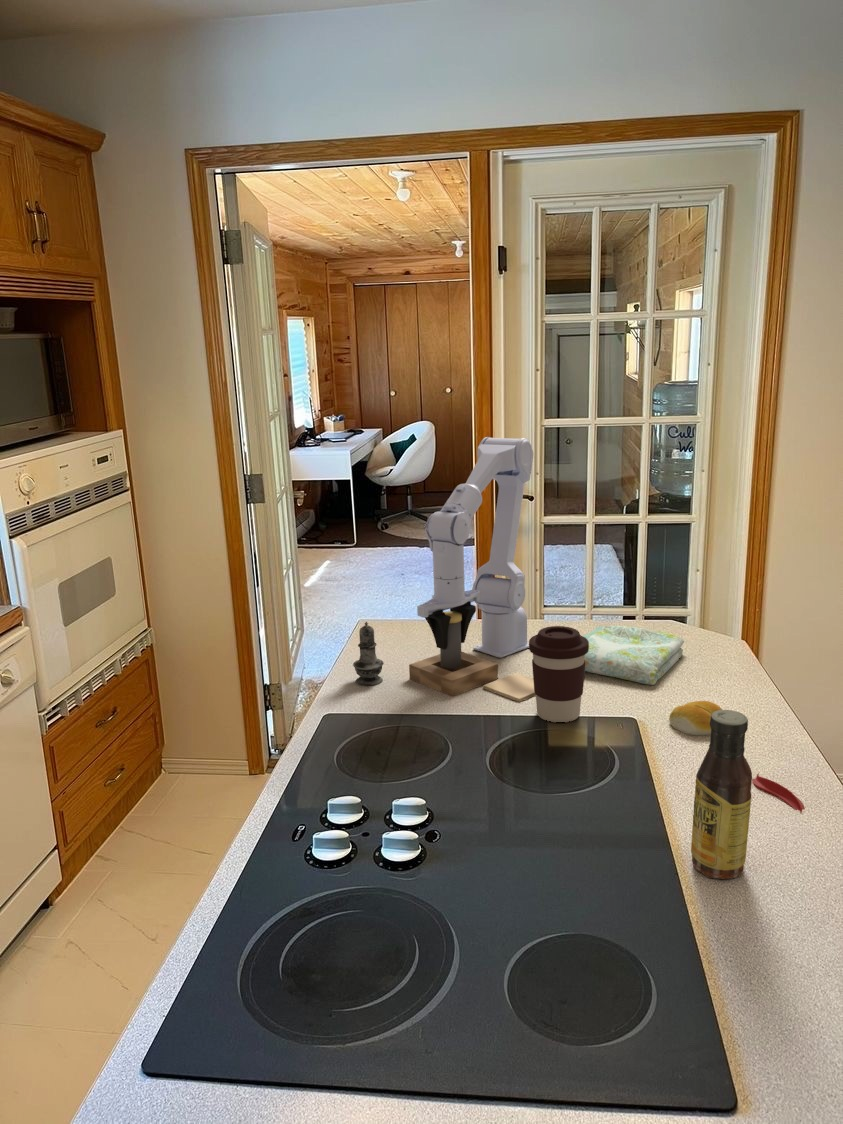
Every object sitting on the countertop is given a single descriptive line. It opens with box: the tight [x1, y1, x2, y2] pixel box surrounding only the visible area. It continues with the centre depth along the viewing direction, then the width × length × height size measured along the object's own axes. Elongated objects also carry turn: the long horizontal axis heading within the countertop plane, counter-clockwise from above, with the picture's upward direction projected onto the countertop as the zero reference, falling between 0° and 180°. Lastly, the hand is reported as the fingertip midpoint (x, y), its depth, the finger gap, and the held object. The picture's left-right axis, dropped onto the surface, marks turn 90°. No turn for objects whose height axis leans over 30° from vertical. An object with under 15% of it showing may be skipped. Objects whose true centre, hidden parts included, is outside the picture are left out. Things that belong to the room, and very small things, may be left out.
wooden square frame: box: [408, 651, 499, 697], centre depth 164 cm, size 12×12×3 cm
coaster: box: [482, 672, 536, 703], centre depth 159 cm, size 9×9×1 cm
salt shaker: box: [352, 621, 385, 687], centre depth 163 cm, size 6×6×12 cm
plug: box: [439, 610, 462, 668], centre depth 162 cm, size 4×4×10 cm
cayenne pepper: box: [752, 773, 806, 813], centre depth 119 cm, size 12×5×2 cm, turn 179°
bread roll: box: [668, 700, 723, 736], centre depth 141 cm, size 8×9×4 cm
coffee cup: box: [528, 625, 589, 723], centre depth 145 cm, size 10×10×15 cm
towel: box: [582, 625, 685, 686], centre depth 170 cm, size 18×21×5 cm
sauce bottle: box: [690, 709, 753, 880], centre depth 100 cm, size 6×6×20 cm
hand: (450, 644), depth 162 cm, fingers closed on plug, 4 cm apart
